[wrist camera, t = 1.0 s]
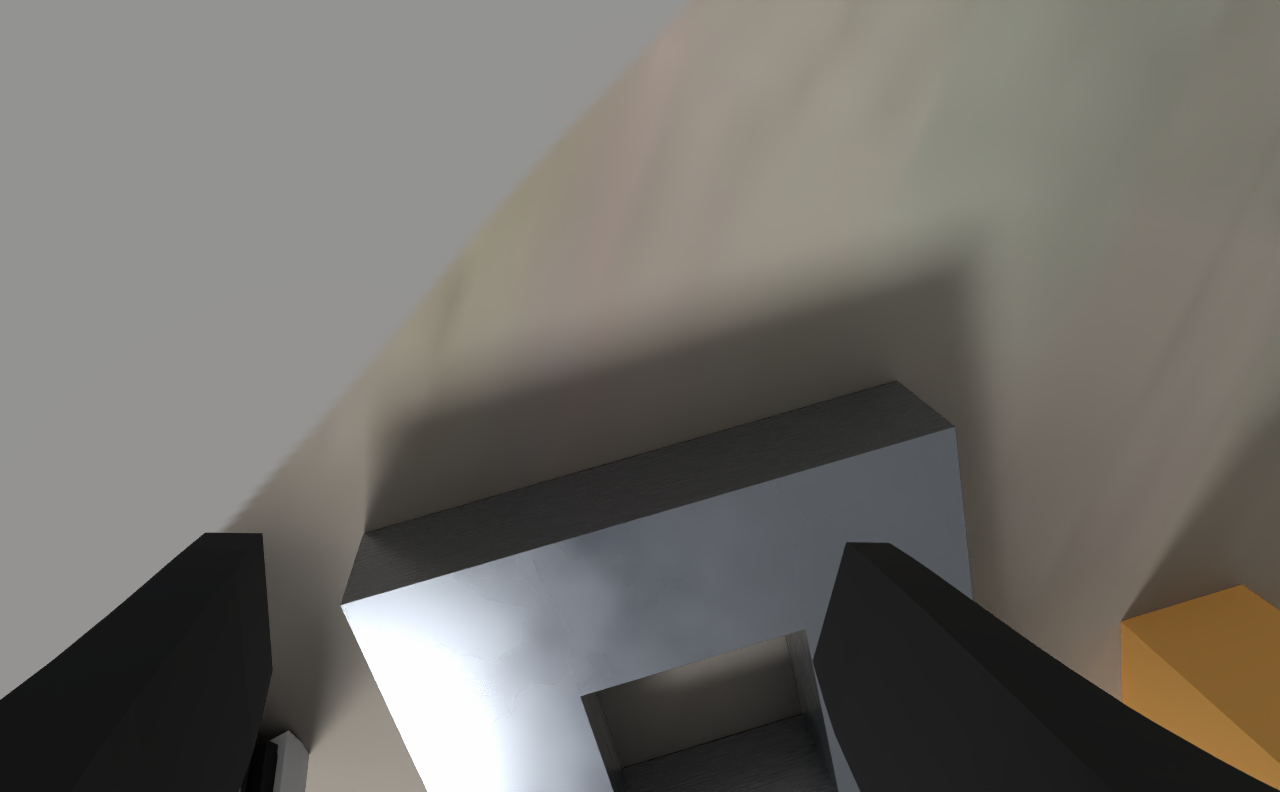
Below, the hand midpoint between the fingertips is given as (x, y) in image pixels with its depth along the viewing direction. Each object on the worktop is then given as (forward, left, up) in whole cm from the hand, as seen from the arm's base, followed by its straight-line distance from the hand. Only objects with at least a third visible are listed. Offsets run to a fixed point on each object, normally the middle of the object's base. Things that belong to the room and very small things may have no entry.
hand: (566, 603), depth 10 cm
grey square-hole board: (-10, -1, -10) cm, 14 cm away
